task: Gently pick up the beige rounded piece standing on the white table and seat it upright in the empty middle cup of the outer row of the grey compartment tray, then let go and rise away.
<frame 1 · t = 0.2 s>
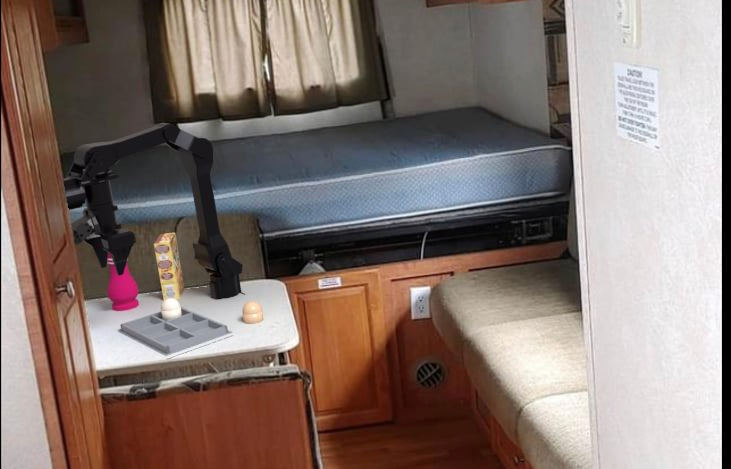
hand: (112, 271, 210), 14 cm above the table, tool pointing down, fingers open, 9 cm apart
pepper mill: (126, 310, 230), on the table
cream egg: (172, 320, 216), point 1 cm above the table, touching grey compartment tray
candy box: (174, 297, 235), on the table
grey compartment tray: (174, 335, 209), on the table
beige rounded piece: (254, 323, 211), on the table
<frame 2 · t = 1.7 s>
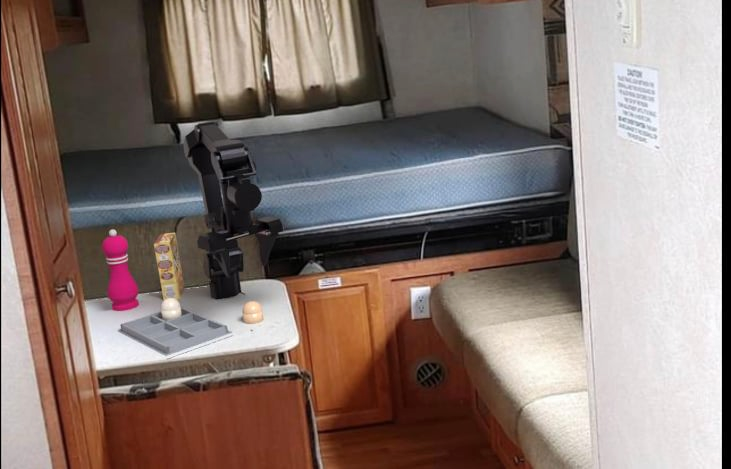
hand: (246, 271, 208), 12 cm above the table, tool pointing down, fingers open, 9 cm apart
nothing on the table moved.
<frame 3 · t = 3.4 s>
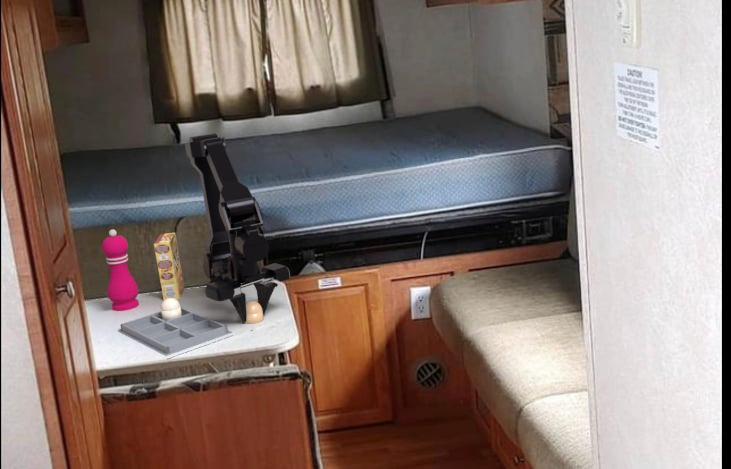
hand: (253, 318, 211), 1 cm above the table, tool pointing down, fingers closed on beige rounded piece, 4 cm apart
beige rounded piece: (254, 323, 211), on the table, touching gripper
everything else where it was.
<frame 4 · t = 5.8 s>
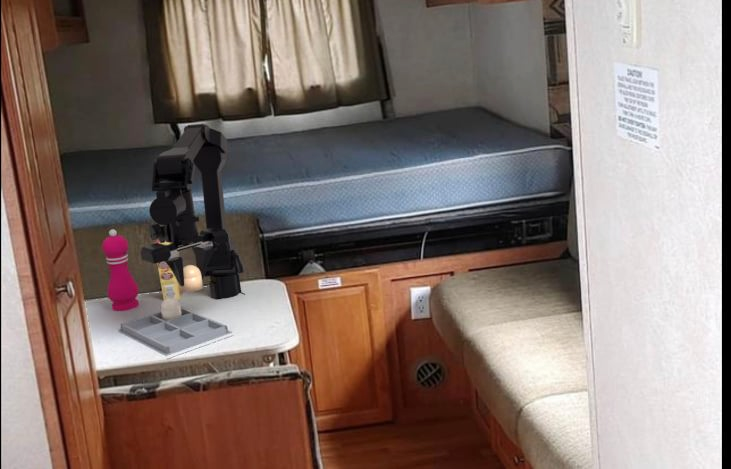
hand: (191, 282, 206), 12 cm above the table, tool pointing down, fingers closed on beige rounded piece, 4 cm apart
beige rounded piece: (192, 288, 206), point 10 cm above the table, touching gripper
everything else where it was.
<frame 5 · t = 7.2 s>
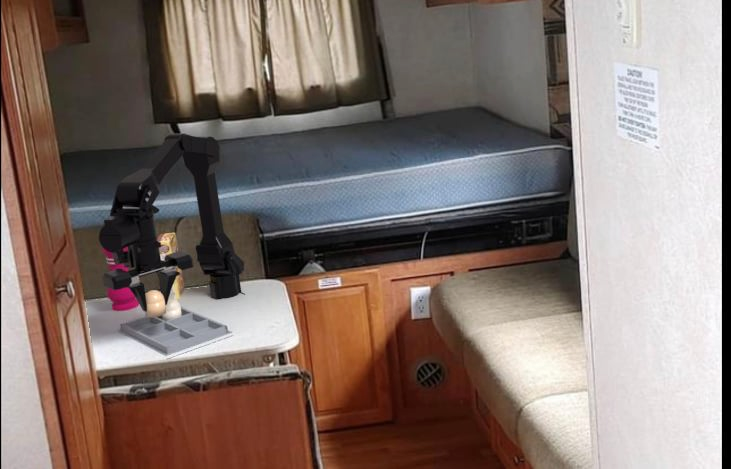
hand: (155, 308, 205), 7 cm above the table, tool pointing down, fingers closed on beige rounded piece, 4 cm apart
beige rounded piece: (156, 313, 206), point 6 cm above the table, touching gripper
everything else where it was.
when the fingers open (4 cm above the table, at t = 8.2 s): beige rounded piece drops 1 cm, resting on grey compartment tray.
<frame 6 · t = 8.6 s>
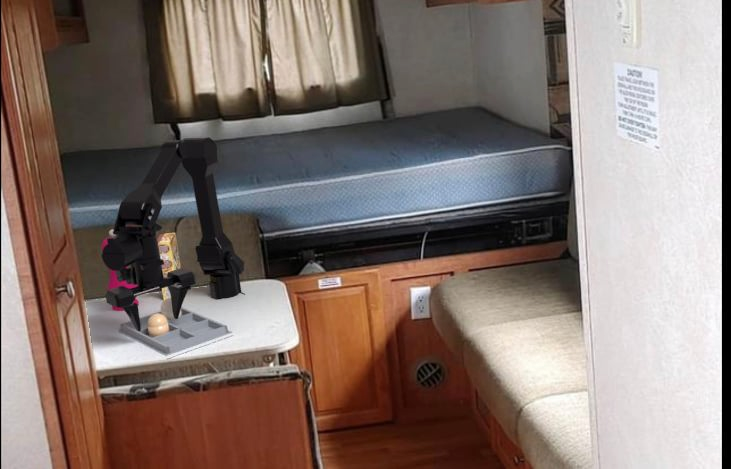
hand: (157, 324, 206), 3 cm above the table, tool pointing down, fingers open, 9 cm apart
beige rounded piece: (159, 336, 207), point 1 cm above the table, touching grey compartment tray
everything else where it was.
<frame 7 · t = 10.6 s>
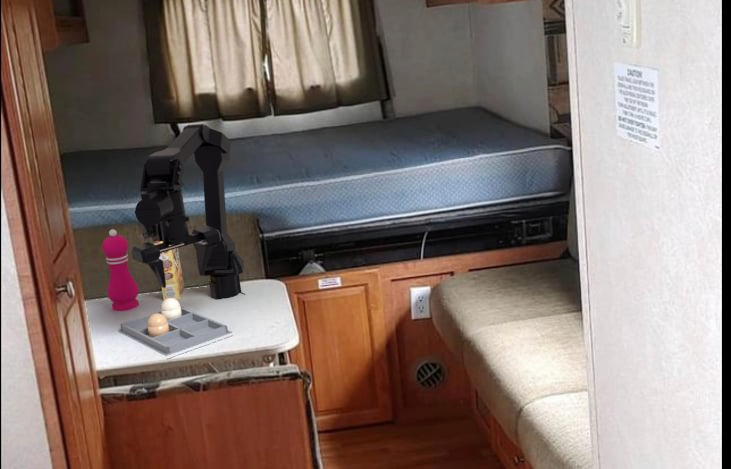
hand: (183, 281, 208), 12 cm above the table, tool pointing down, fingers open, 9 cm apart
nothing on the table moved.
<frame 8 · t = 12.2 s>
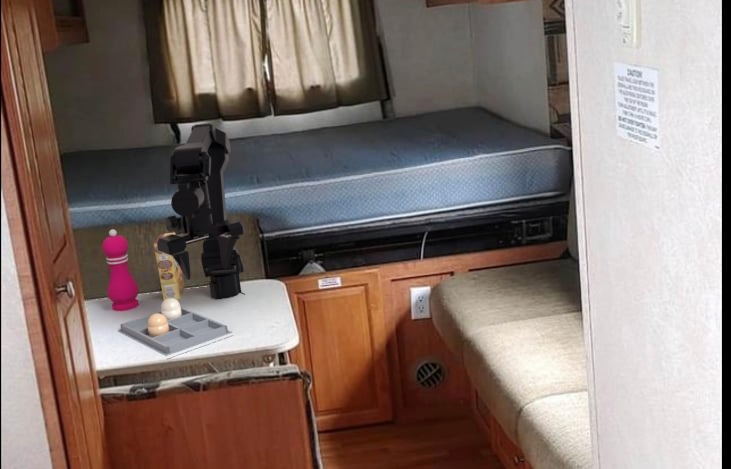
hand: (206, 273, 210), 12 cm above the table, tool pointing down, fingers open, 9 cm apart
nothing on the table moved.
at the end: beige rounded piece 0.1 cm from the target spot on the grey compartment tray, point 0.8 cm above the grey compartment tray's base; beige rounded piece tilted 0°; the gripper is holding nothing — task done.
